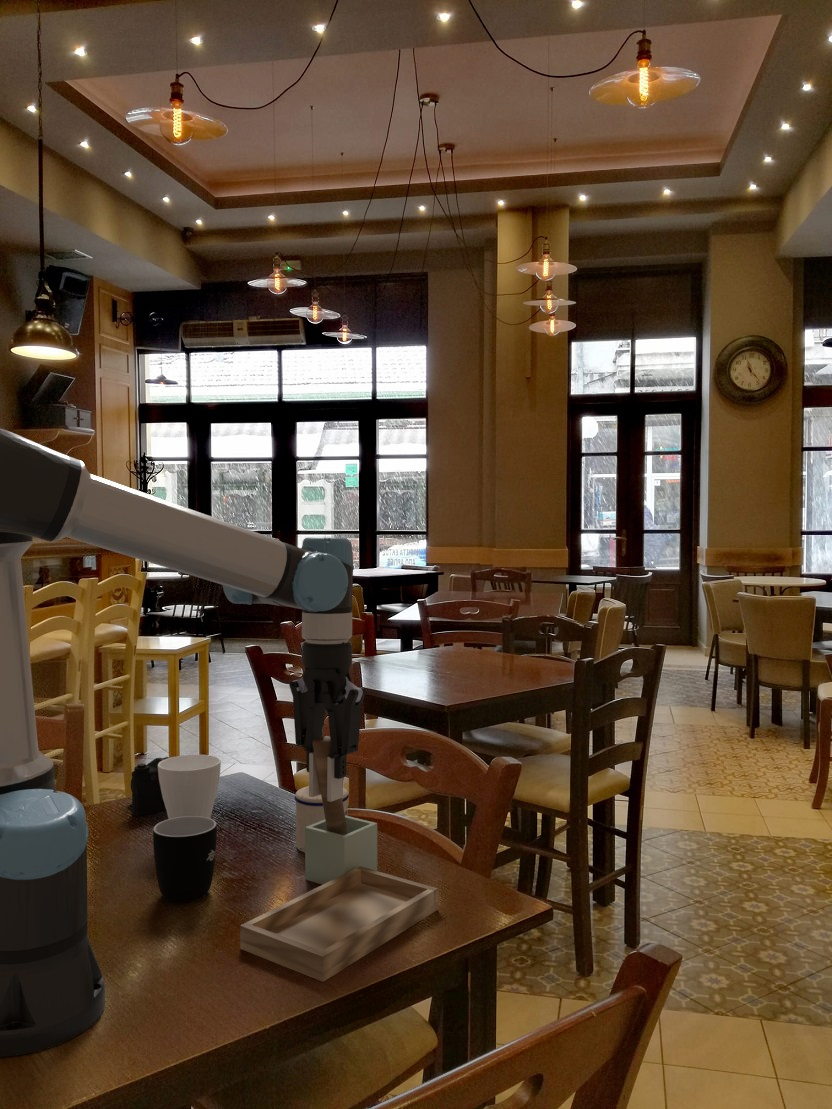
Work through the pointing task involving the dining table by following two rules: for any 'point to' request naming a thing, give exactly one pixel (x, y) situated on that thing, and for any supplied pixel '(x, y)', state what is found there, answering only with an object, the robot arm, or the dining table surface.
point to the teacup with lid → (310, 813)
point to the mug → (185, 857)
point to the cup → (189, 784)
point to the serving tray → (338, 922)
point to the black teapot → (147, 789)
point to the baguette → (334, 808)
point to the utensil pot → (339, 849)
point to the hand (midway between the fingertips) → (325, 796)
